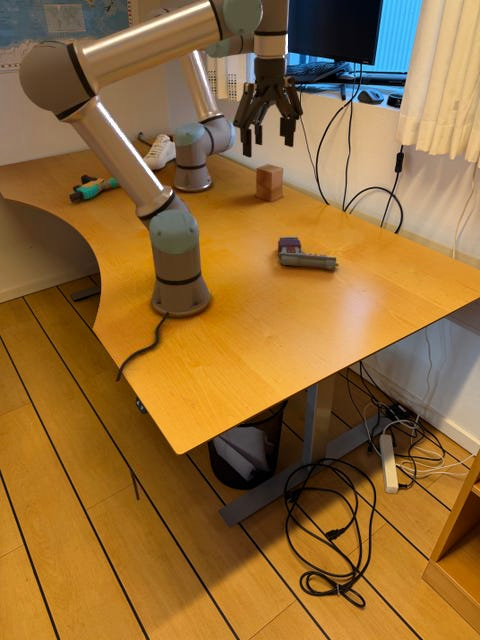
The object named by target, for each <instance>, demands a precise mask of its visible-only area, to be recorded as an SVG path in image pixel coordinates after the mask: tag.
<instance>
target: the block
mask: <svg viewBox="0 0 480 640" xmlns="http://www.w3.org/2000/svg"><path fill="white" fill-rule="evenodd" d="M255 171H256V174H255V175H256V178H255V179H256V180H255V181H256V182H255V196H256V198H258V199H262V200H265V201H268V202H274V201H276V200H278V199H280V198H283V185H284V184H283V183H284V168H283V167H280V166H277V165H274V164H270V163H266V164H264V165H261V166H259V167H256V169H255Z"/></svg>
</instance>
